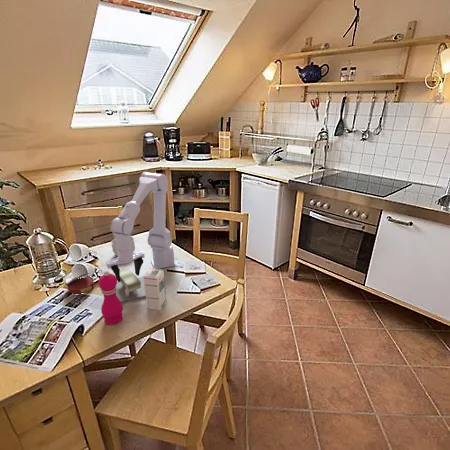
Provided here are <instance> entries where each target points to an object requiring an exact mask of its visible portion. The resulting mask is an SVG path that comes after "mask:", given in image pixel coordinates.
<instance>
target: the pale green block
mask: <svg viewBox="0 0 450 450" xmlns="http://www.w3.org/2000/svg"><path fill="white" fill-rule="evenodd" d="M138 278H139V277H138V276H137V275H136V274H135V273H134V272H133V271H132V270H130V268H125V269H120V279H121V283H122V284H123V286H124V287H125V288H126V289H127V290H128V292H131V291H133V290H136V289H139V288H141V282H140V280H139V279H138Z"/></svg>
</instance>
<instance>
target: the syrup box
mask: <svg viewBox="0 0 450 450" xmlns="http://www.w3.org/2000/svg"><path fill="white" fill-rule="evenodd" d="M142 277H143V278H144V286H145V294H146V298H145V300H146V308H147V309H151V310H160V311H161V310H162V309H163V307H164V306H165V305H166V302H167V295H166V294H167V291H166V282H165V281H166V280H165V270H164V269H163V268H161V269H155V268H154V267H153V268H152V267H151V268H149V269H148V270H147V271H146V272H145V274H144V275H143V276H142Z"/></svg>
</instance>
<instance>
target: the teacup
mask: <svg viewBox="0 0 450 450" xmlns="http://www.w3.org/2000/svg"><path fill="white" fill-rule="evenodd" d="M131 241H132V249H133V253H135V250H136V247H135V245H136V244H135V238H134V237H133V236H131ZM110 244H111V248H112V252H113V254H114V255H115V256H117V257H118V255H117V247H116V240H115V238H114V239H112V240H111V242H110Z"/></svg>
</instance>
